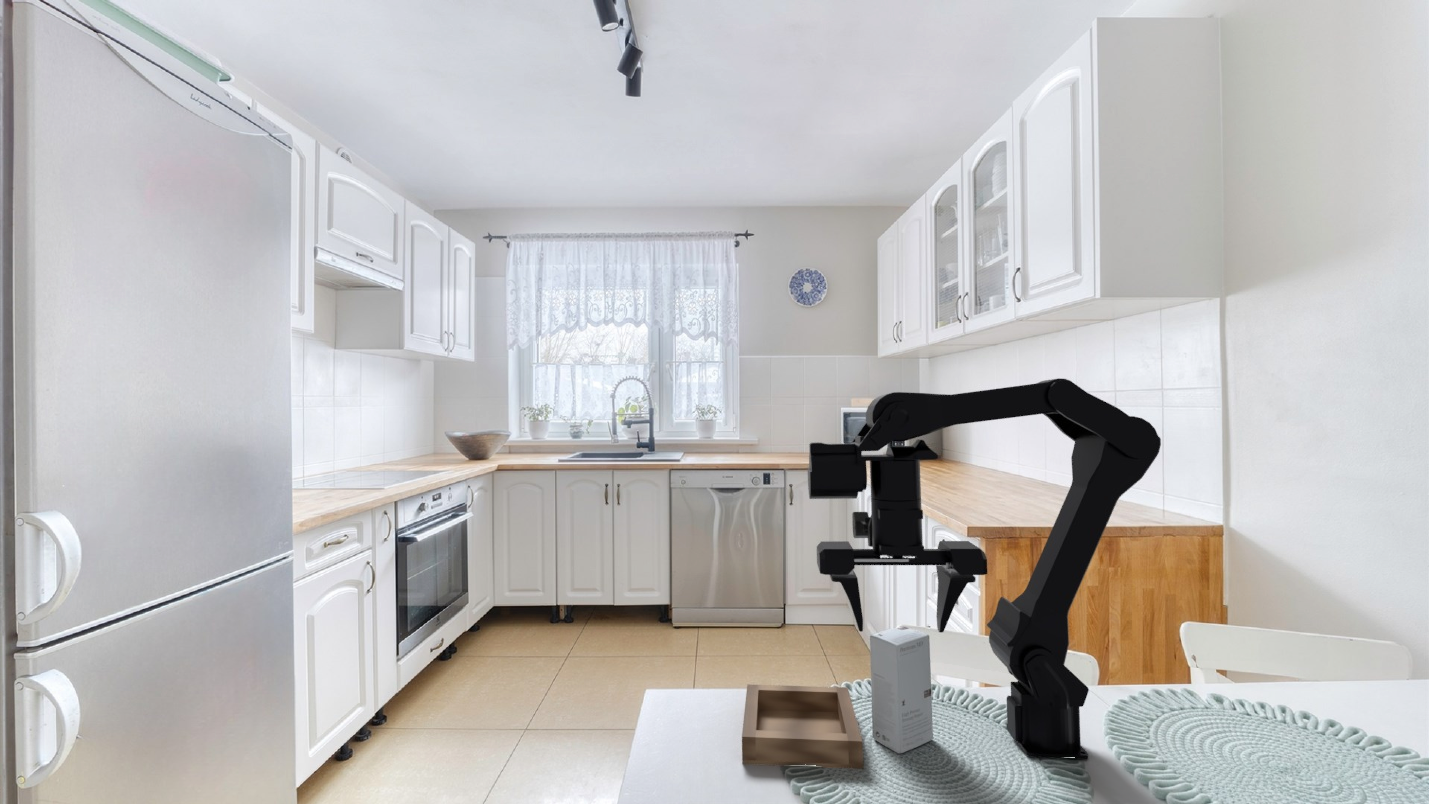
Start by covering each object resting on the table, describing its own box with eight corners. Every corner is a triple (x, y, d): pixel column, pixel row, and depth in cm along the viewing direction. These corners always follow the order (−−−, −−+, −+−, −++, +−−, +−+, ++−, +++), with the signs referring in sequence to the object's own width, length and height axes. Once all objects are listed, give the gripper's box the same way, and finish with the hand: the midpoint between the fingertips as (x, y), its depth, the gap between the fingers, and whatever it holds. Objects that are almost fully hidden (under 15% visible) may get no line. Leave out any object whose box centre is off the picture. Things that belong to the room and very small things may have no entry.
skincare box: (900, 756, 66) (898, 646, 67) (869, 738, 70) (867, 634, 70) (935, 739, 70) (932, 634, 70) (904, 723, 73) (901, 624, 74)
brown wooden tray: (848, 713, 77) (847, 687, 77) (863, 772, 64) (862, 741, 64) (747, 709, 78) (747, 684, 78) (742, 767, 65) (741, 736, 65)
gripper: (956, 489, 78) (960, 609, 77) (812, 491, 80) (815, 608, 79) (986, 500, 67) (991, 641, 66) (818, 502, 69) (822, 639, 68)
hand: (900, 630), depth 70 cm, fingers open, 9 cm apart
